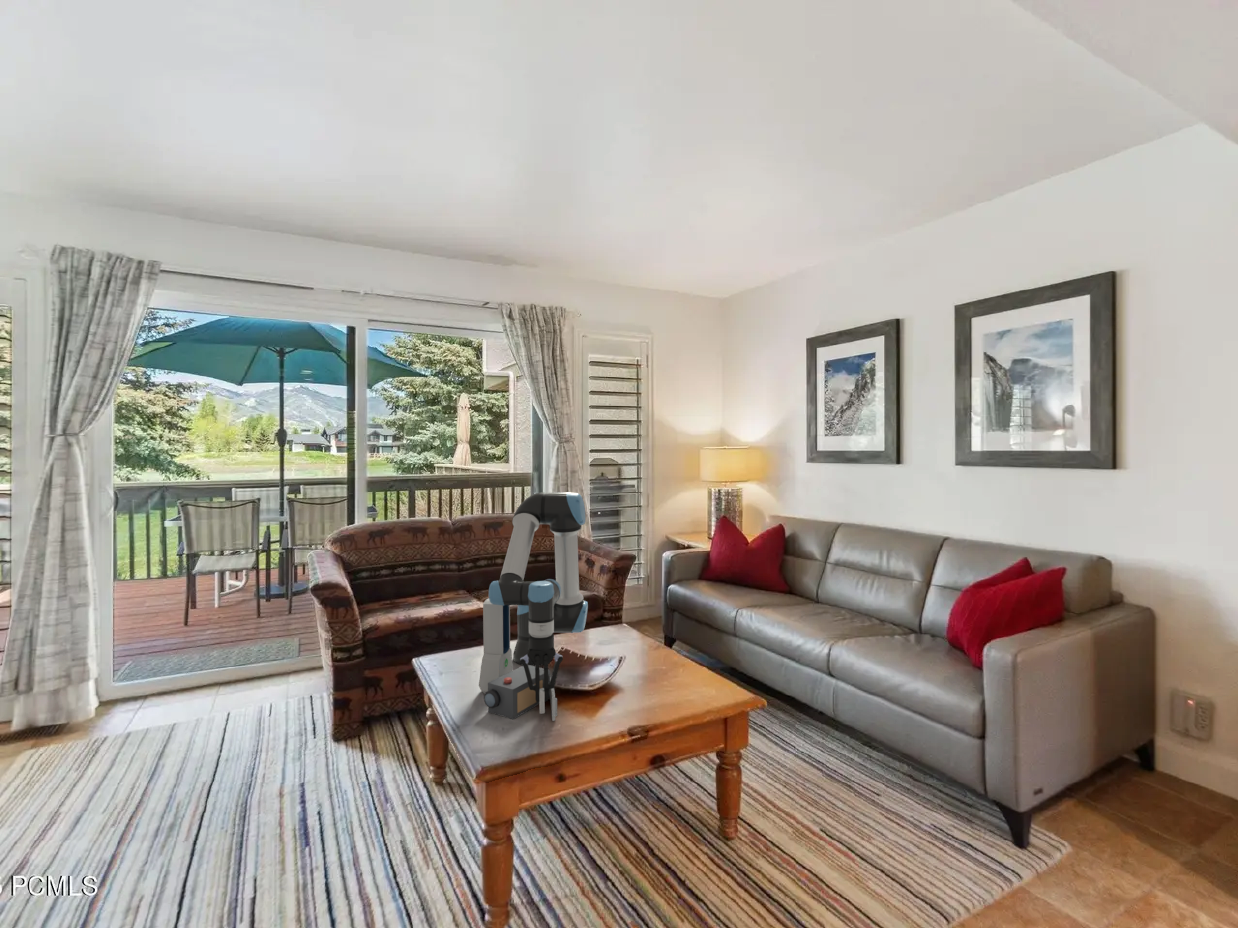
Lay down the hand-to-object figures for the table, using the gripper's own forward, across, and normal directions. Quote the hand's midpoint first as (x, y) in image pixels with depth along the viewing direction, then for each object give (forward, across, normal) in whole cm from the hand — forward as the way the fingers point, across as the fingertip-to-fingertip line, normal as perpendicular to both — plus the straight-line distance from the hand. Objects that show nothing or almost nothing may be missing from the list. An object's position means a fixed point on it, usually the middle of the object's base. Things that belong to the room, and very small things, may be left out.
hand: (542, 711), depth 183 cm
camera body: (+1, -6, +10) cm, 12 cm away
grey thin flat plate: (+1, +4, +4) cm, 6 cm away
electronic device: (+2, -14, +24) cm, 28 cm away
